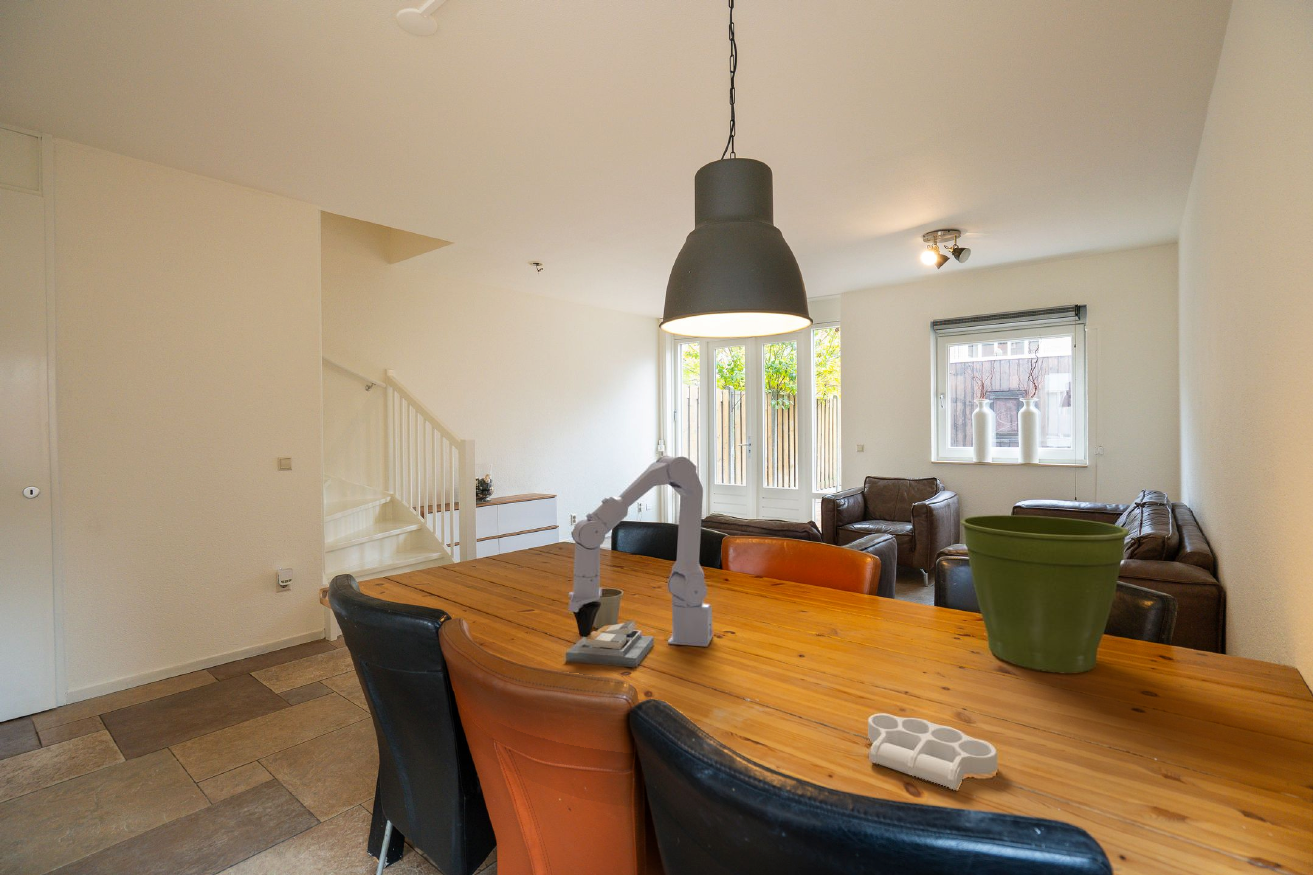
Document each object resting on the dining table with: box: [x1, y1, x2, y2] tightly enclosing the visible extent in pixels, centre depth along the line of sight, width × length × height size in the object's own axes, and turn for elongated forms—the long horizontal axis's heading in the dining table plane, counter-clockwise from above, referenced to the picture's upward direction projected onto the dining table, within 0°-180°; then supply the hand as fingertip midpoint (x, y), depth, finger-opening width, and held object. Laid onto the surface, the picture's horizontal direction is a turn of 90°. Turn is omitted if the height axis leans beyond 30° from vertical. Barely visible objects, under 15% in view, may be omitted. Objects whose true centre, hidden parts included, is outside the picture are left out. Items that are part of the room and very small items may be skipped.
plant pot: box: [960, 514, 1129, 674], centre depth 126 cm, size 30×30×29 cm
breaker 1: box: [597, 620, 637, 635], centre depth 137 cm, size 8×4×2 cm, turn 75°
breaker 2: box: [585, 630, 626, 649], centre depth 130 cm, size 8×4×2 cm, turn 75°
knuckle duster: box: [867, 712, 998, 791], centre depth 88 cm, size 3×18×15 cm
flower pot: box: [593, 587, 624, 630], centre depth 153 cm, size 9×9×9 cm
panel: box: [565, 628, 655, 668], centre depth 133 cm, size 16×14×3 cm
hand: (584, 636), depth 131 cm, fingers closed, pressing on breaker 2
